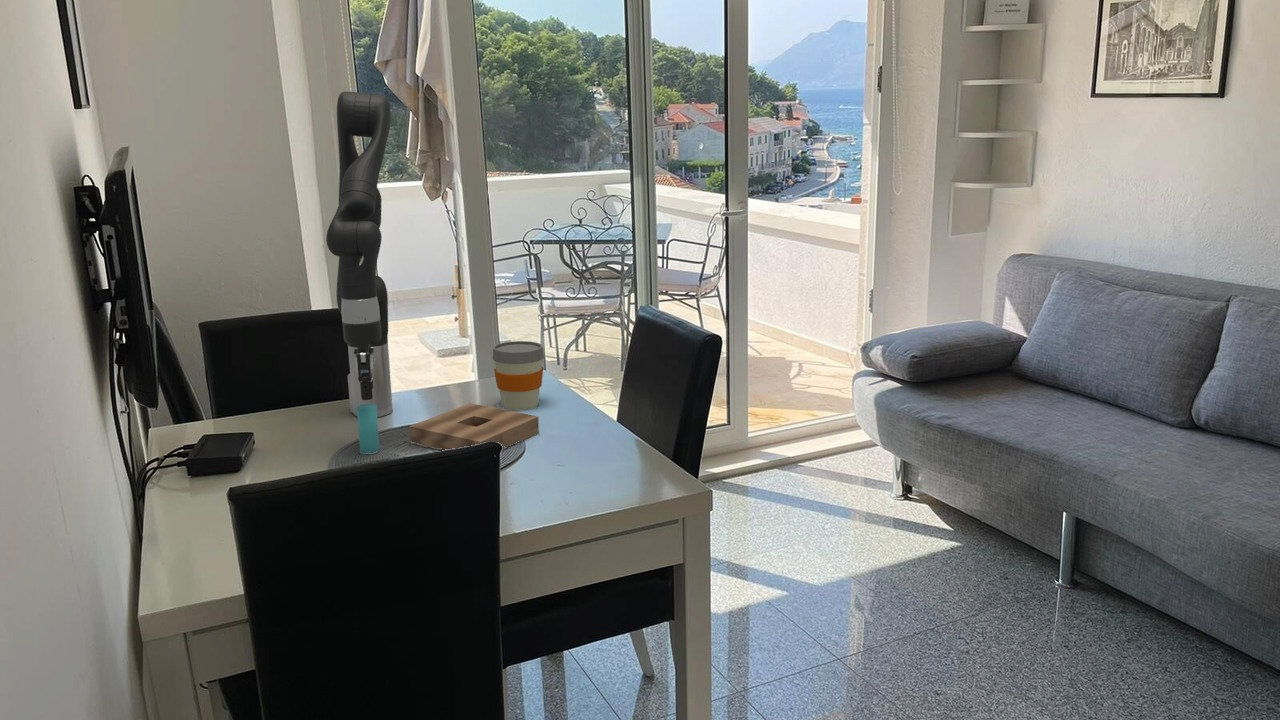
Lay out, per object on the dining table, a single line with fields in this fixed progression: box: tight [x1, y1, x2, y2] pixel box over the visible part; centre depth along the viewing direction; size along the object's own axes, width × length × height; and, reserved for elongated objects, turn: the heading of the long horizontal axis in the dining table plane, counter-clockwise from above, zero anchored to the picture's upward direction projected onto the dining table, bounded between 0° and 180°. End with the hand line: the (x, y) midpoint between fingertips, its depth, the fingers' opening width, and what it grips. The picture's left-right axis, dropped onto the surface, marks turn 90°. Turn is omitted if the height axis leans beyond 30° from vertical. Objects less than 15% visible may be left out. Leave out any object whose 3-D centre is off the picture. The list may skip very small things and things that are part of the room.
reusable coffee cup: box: [492, 340, 545, 412], centre depth 228 cm, size 13×13×15 cm
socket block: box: [409, 402, 540, 451], centre depth 205 cm, size 20×20×4 cm
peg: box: [356, 404, 381, 453], centre depth 196 cm, size 4×4×10 cm
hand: (367, 394), depth 194 cm, fingers open, 8 cm apart
